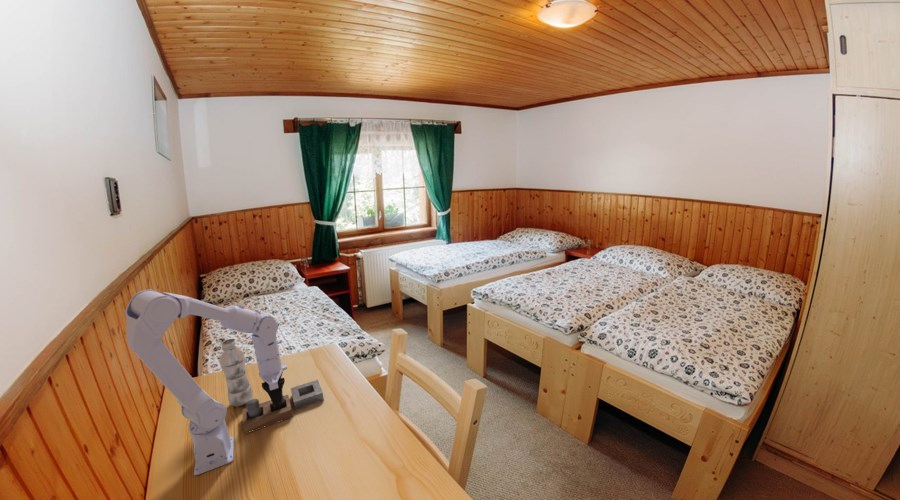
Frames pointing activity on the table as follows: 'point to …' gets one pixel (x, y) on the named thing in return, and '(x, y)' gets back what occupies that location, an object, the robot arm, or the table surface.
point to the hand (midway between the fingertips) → (277, 399)
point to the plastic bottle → (235, 373)
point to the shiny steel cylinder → (279, 404)
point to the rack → (269, 417)
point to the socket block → (308, 398)
